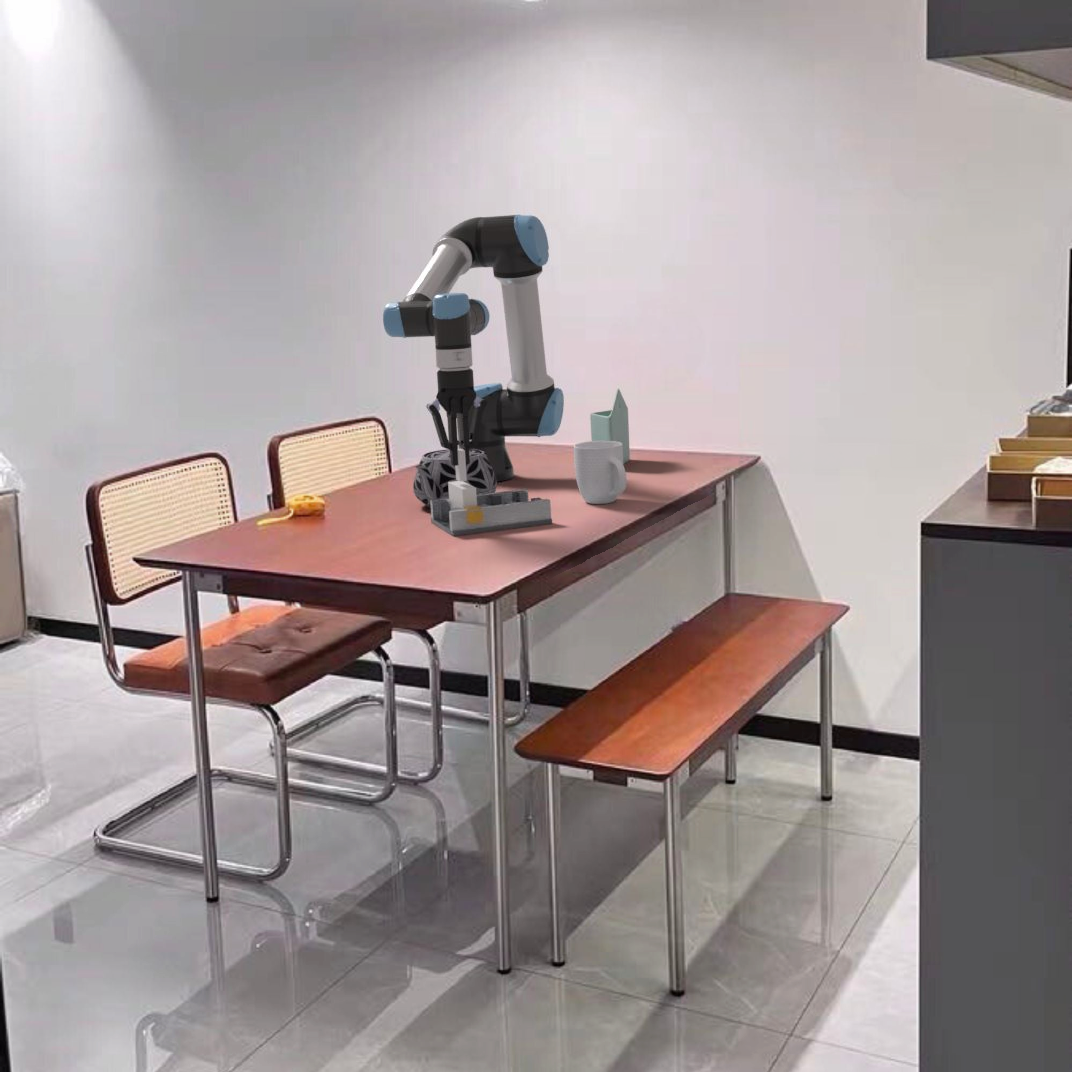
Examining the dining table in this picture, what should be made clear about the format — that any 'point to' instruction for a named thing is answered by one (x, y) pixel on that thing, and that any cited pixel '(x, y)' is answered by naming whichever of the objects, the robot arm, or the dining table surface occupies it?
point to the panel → (461, 495)
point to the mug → (599, 470)
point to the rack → (491, 513)
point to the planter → (612, 425)
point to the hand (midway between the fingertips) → (461, 480)
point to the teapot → (451, 475)
